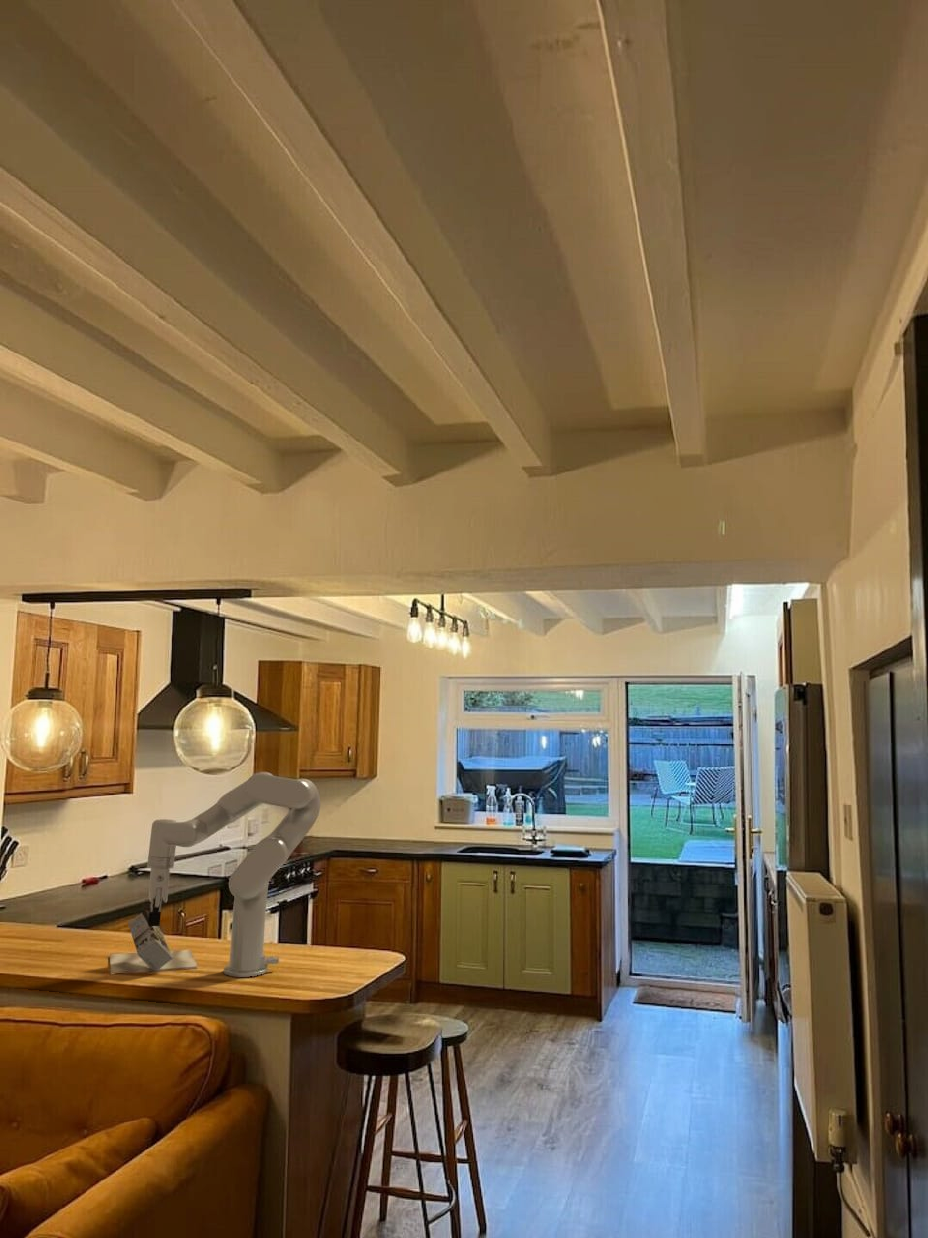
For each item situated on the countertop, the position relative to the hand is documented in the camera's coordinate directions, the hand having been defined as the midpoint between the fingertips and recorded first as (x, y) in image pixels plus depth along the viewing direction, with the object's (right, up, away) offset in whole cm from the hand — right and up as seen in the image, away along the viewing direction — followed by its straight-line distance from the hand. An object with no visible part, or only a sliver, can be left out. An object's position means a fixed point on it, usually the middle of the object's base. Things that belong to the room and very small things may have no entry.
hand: (153, 925), depth 258 cm
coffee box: (+2, -8, -5) cm, 9 cm away
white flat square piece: (-3, -14, +7) cm, 16 cm away
